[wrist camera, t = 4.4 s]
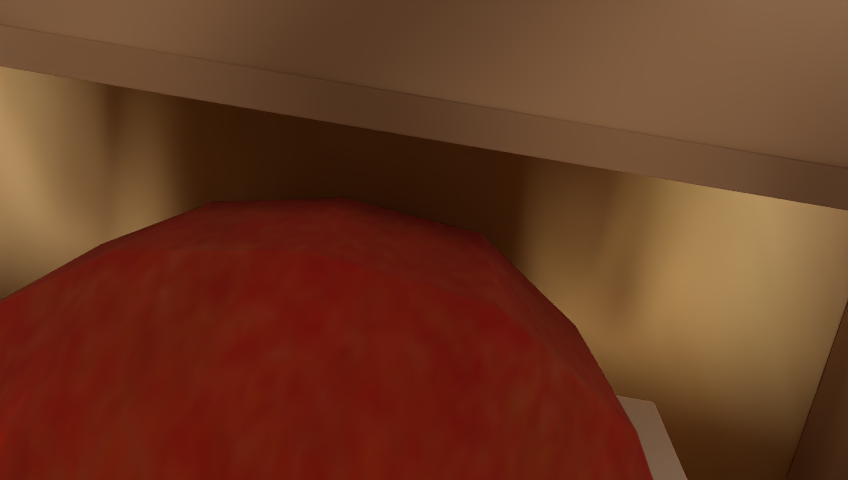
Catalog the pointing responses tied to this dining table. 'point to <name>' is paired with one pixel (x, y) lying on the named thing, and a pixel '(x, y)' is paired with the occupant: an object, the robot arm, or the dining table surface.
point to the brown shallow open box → (512, 90)
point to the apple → (301, 357)
